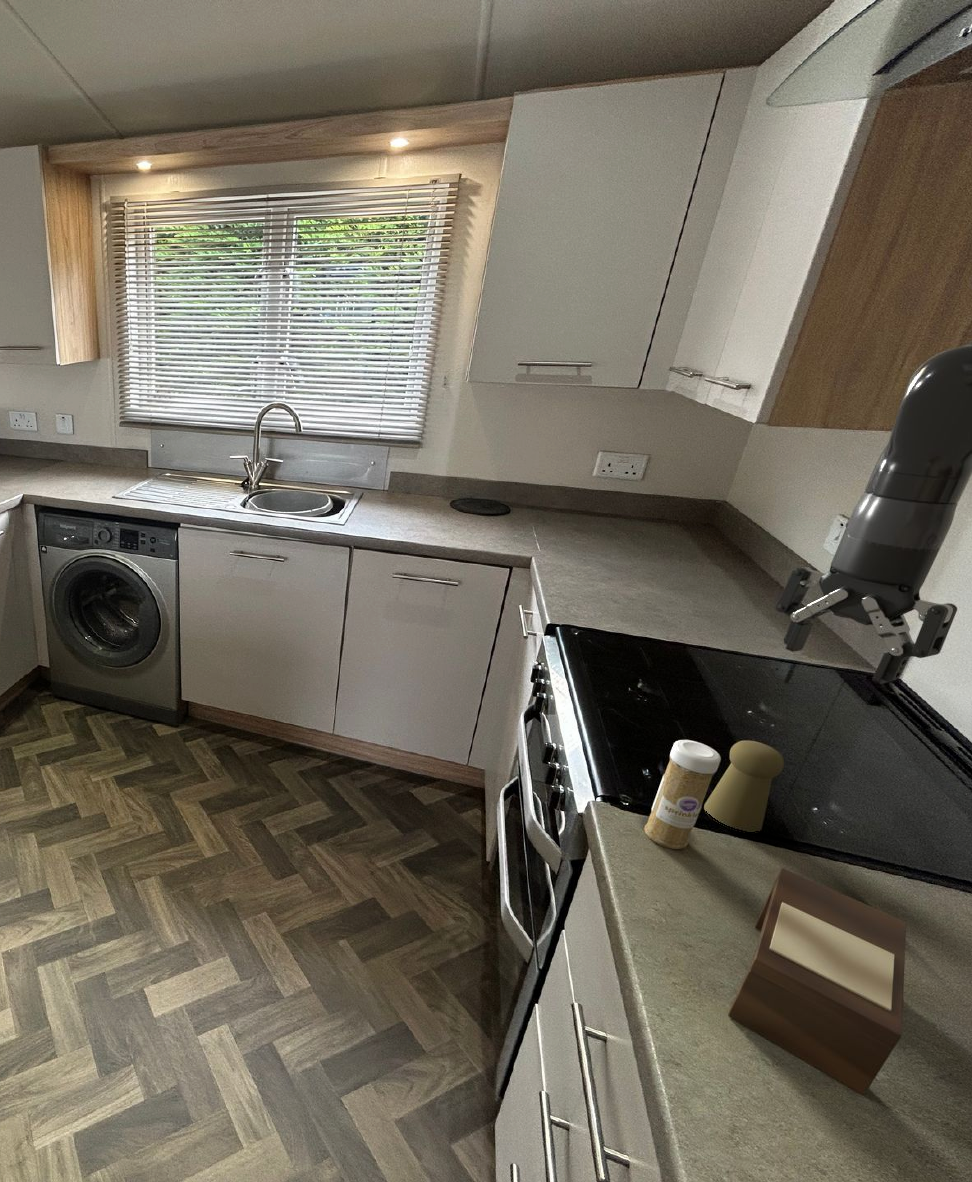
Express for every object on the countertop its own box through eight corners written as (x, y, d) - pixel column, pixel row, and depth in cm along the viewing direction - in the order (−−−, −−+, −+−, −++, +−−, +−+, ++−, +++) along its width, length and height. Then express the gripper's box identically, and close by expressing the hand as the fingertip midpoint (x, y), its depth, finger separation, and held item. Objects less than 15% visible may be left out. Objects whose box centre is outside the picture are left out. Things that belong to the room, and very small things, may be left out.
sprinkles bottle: (659, 850, 78) (692, 760, 73) (635, 824, 82) (665, 737, 78) (696, 851, 78) (732, 761, 73) (670, 825, 82) (702, 738, 78)
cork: (700, 795, 88) (726, 728, 84) (756, 811, 85) (786, 743, 81) (707, 821, 83) (735, 752, 79) (766, 839, 80) (798, 767, 76)
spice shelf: (756, 920, 69) (782, 865, 66) (874, 977, 63) (907, 920, 60) (727, 1016, 59) (755, 957, 56) (863, 1096, 53) (903, 1034, 50)
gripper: (1003, 552, 65) (932, 689, 71) (835, 518, 78) (786, 636, 84) (962, 558, 63) (892, 699, 69) (795, 522, 76) (748, 643, 81)
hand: (834, 664), depth 76 cm, fingers open, 8 cm apart
